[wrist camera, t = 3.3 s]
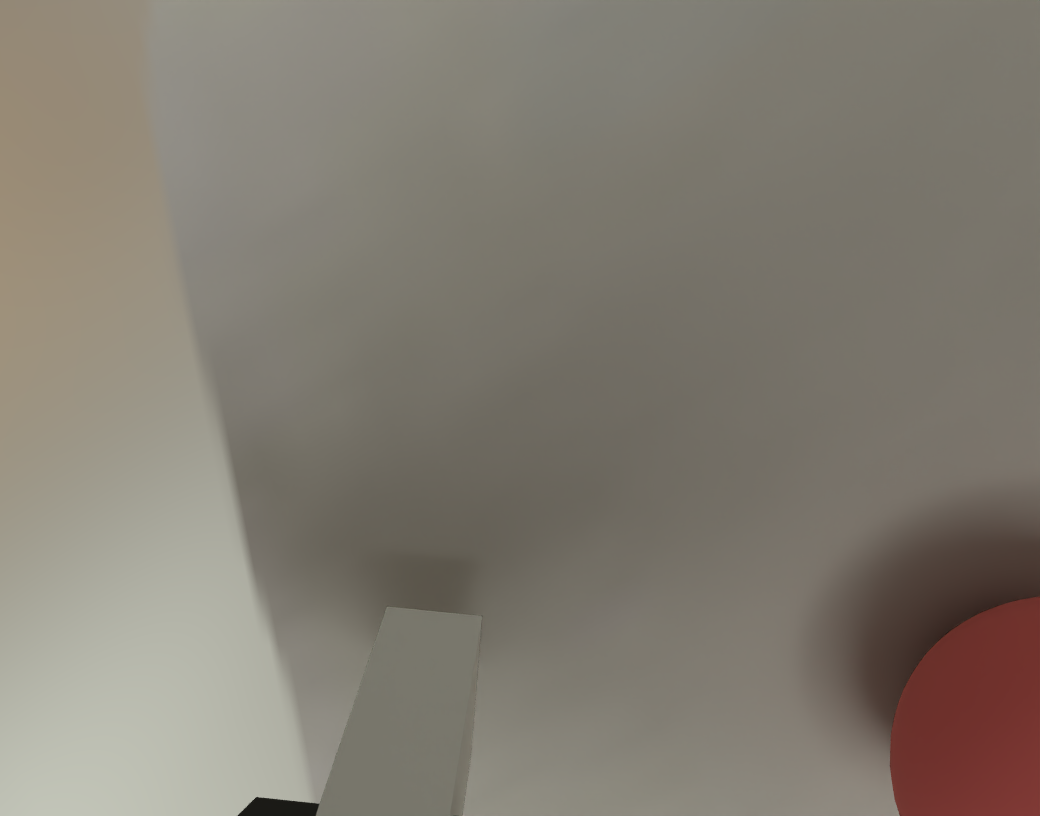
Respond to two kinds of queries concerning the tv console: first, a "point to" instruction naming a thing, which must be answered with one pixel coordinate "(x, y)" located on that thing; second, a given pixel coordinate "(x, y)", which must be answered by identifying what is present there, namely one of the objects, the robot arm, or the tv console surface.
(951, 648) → the ball
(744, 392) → the tv console surface
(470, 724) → the robot arm
